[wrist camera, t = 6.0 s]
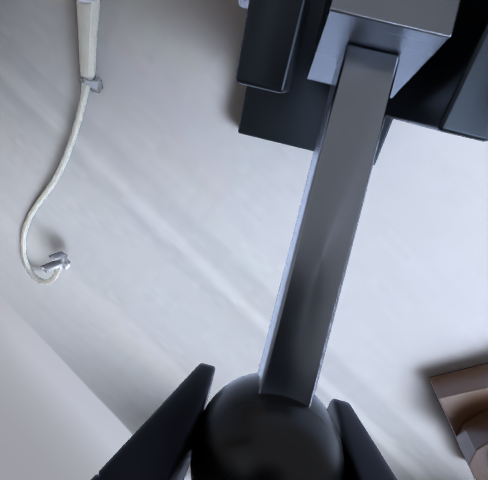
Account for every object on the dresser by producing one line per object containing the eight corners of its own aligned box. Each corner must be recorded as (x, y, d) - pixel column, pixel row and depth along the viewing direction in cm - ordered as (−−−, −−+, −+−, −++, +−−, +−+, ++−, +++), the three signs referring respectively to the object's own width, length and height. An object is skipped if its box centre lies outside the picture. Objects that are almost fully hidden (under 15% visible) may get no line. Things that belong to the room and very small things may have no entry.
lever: (308, 487, 8) (342, 643, 5) (191, 455, 8) (151, 588, 5) (431, 6, 8) (544, -144, 5) (311, -20, 8) (346, -184, 5)
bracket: (369, 161, 17) (477, 259, 7) (241, 130, 17) (171, 182, 7) (455, -60, 13) (994, -556, 3) (285, -96, 13) (264, -671, 3)
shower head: (-32, 284, 20) (-27, -130, 12) (23, 266, 23) (54, -73, 15) (29, 328, 19) (76, -102, 11) (77, 303, 22) (141, -47, 14)
